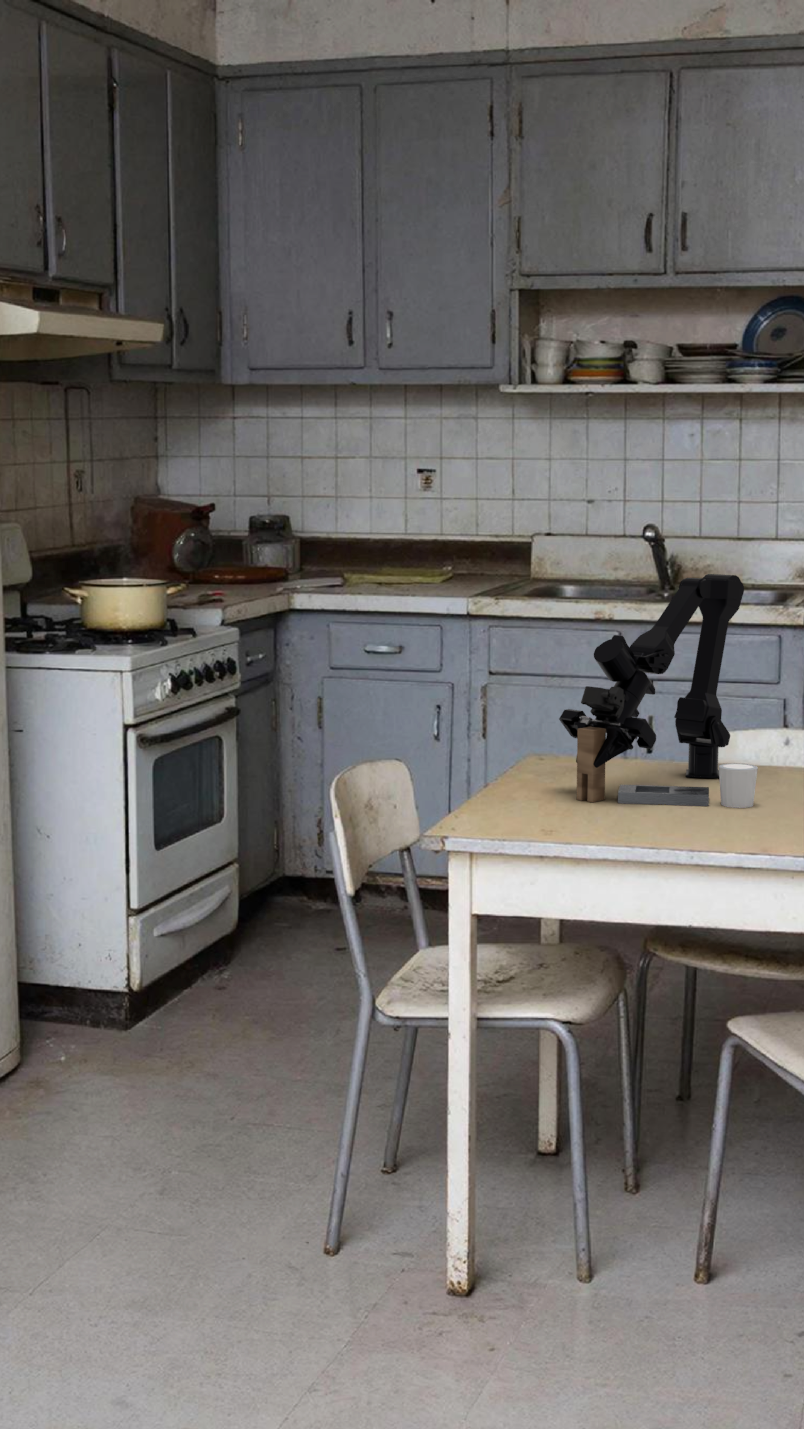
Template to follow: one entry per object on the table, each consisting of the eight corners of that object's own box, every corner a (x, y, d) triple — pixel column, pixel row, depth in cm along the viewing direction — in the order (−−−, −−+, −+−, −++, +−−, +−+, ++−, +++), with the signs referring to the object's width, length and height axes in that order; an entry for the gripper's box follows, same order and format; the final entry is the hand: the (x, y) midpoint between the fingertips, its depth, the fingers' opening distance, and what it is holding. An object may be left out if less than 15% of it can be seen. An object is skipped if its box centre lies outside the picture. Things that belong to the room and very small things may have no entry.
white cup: (712, 806, 298) (713, 767, 297) (724, 799, 304) (725, 761, 303) (750, 809, 295) (751, 770, 294) (761, 803, 301) (762, 764, 300)
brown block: (589, 796, 306) (590, 726, 304) (604, 799, 304) (605, 728, 302) (576, 799, 304) (577, 728, 302) (592, 802, 301) (593, 730, 299)
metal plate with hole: (619, 795, 308) (620, 783, 308) (708, 798, 305) (708, 786, 305) (617, 803, 301) (618, 791, 300) (708, 806, 298) (708, 794, 298)
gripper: (566, 665, 310) (526, 731, 303) (647, 674, 296) (608, 743, 290) (592, 703, 316) (554, 768, 310) (673, 713, 303) (635, 781, 297)
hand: (586, 764), depth 302 cm, fingers closed on brown block, 4 cm apart
